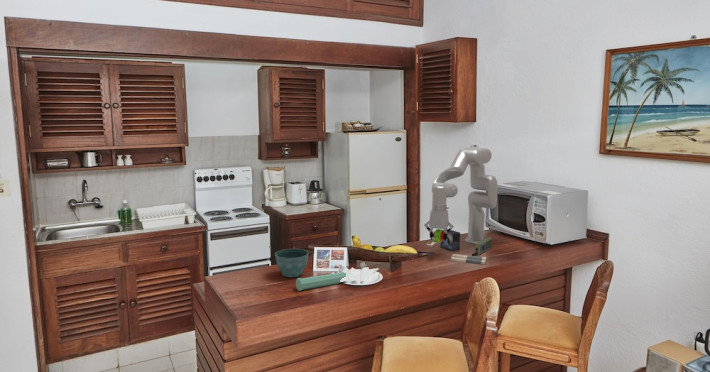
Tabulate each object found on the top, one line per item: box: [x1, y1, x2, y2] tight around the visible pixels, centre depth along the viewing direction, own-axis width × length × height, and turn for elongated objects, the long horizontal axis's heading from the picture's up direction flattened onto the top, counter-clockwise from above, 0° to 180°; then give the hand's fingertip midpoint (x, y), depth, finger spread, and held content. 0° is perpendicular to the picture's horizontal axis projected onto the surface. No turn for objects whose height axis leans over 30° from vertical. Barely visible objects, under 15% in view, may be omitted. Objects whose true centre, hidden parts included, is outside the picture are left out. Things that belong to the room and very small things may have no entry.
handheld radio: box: [471, 236, 493, 256], centre depth 287 cm, size 7×3×25 cm
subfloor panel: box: [450, 253, 487, 265], centre depth 270 cm, size 9×18×2 cm, turn 72°
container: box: [295, 271, 347, 292], centre depth 228 cm, size 6×6×25 cm
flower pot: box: [274, 248, 309, 278], centre depth 242 cm, size 16×16×11 cm
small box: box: [439, 228, 461, 252], centre depth 293 cm, size 11×6×10 cm, turn 33°
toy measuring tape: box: [426, 228, 445, 248], centre depth 273 cm, size 6×19×7 cm, turn 145°
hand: (438, 239), depth 275 cm, fingers closed on toy measuring tape, 6 cm apart
